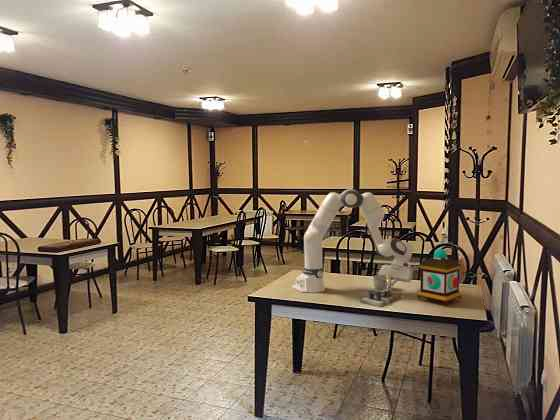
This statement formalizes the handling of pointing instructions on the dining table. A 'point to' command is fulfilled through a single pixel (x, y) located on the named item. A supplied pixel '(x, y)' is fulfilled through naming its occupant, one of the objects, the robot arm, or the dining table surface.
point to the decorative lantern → (440, 278)
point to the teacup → (379, 282)
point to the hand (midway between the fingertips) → (390, 285)
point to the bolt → (387, 285)
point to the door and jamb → (379, 298)
